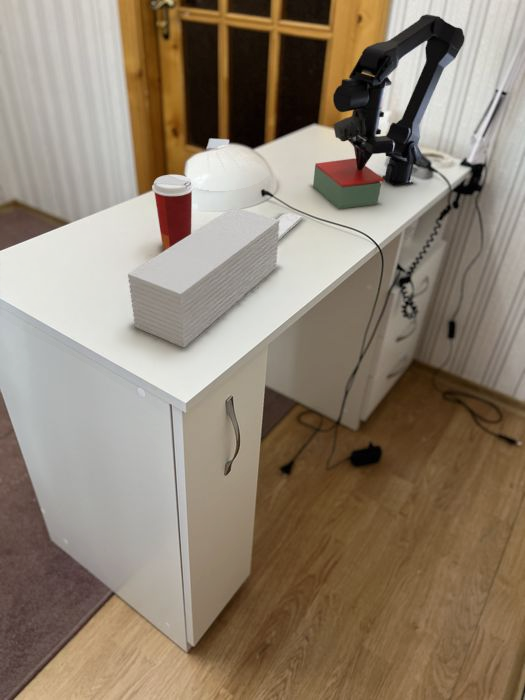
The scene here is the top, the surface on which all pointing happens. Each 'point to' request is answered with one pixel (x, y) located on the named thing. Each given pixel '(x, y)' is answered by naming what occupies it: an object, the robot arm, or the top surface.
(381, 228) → the top surface
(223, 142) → the small box
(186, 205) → the coffee cup
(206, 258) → the stack of papers
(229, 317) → the top surface
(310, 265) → the top surface
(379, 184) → the box
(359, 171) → the lid
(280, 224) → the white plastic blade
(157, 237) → the top surface
